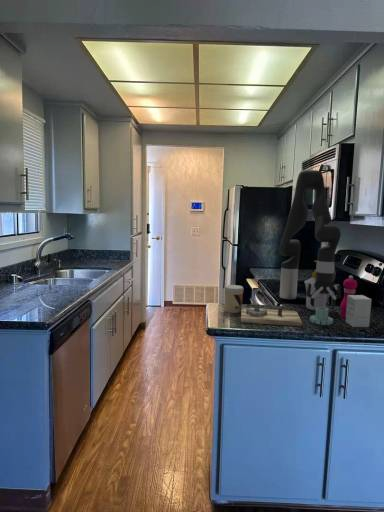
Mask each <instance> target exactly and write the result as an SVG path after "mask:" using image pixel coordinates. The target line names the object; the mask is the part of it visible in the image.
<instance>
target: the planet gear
mask: <svg viewBox="0 0 384 512" xmlns="http://www.w3.org/2000/svg"><path fill="white" fill-rule="evenodd" d="M329 310H330V309H329V308H328V307H316V311H314V312H315V313H314V314H313V315H310V316H309V321H310V322H312V323H313V324H316V325H322V326H331V325H332V324H334V318H332V317H330V316H329Z"/></svg>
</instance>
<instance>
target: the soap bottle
mask: <svg viewBox="0 0 384 512" xmlns="http://www.w3.org/2000/svg"><path fill="white" fill-rule="evenodd" d="M313 262H315V263H317V260H313ZM315 279H316V269H314V271H313V272H312V275H311V277H310V278H309V279H305V280H304V285H305V290H306V293H307V285H308V283H311V284H314V283H315ZM315 289H316V288H315V287H314V286H313V288H311V292H310V294H312V293H313V291H314V290H315ZM327 298H328V294H320V293H318V294H317V295H316V296H315V297H314V307H313V306H312V305H311V304H310V297H308V296H307V295H306V300H305V306H306V308H307V309H308V310H311V311H314V312H316V307H325V308H327V307H326V306H327Z"/></svg>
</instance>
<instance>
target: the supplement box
mask: <svg viewBox="0 0 384 512" xmlns="http://www.w3.org/2000/svg"><path fill="white" fill-rule="evenodd" d="M371 310H372V298H369V297H367V296H366V295H363V294H356V295H355V294H354V295H348V296H347V309H346V318H345V323H346V324H348V325H349V326H351V327H352V328H369V327H370V320H371Z"/></svg>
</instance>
